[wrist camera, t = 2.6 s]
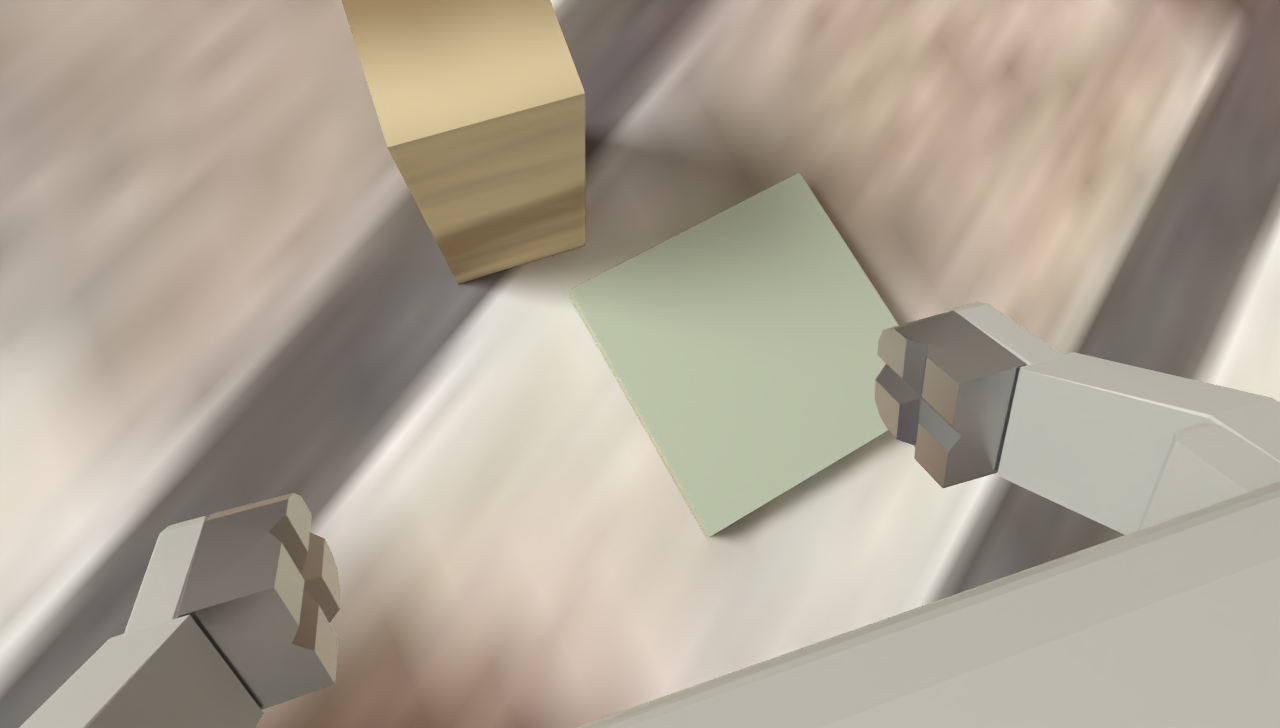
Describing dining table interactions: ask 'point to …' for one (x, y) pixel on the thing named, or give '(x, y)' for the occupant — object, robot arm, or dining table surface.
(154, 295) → the dining table surface
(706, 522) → the tile
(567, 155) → the beech block
